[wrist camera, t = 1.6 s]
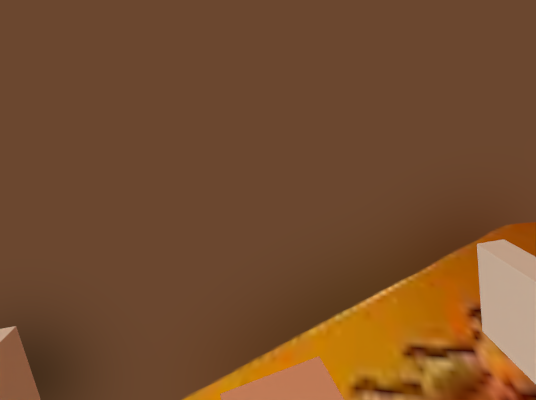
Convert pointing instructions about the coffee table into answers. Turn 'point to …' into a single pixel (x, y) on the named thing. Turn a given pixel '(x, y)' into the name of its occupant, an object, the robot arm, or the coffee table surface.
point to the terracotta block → (290, 385)
